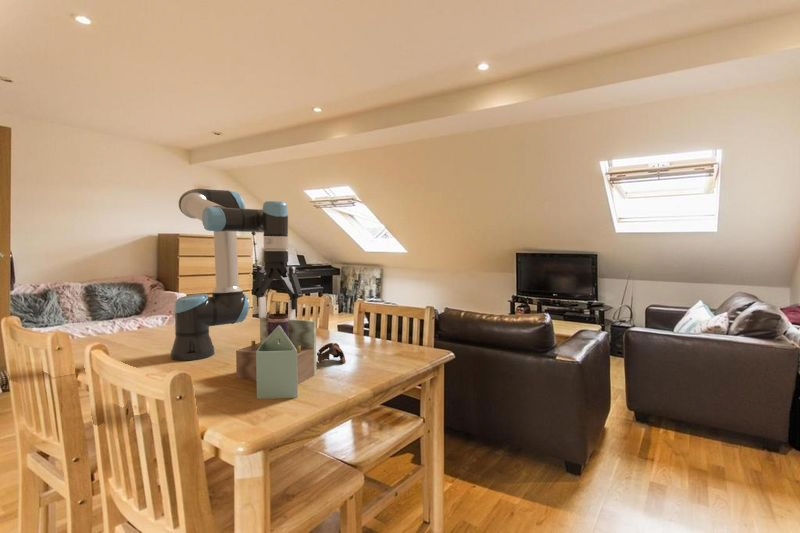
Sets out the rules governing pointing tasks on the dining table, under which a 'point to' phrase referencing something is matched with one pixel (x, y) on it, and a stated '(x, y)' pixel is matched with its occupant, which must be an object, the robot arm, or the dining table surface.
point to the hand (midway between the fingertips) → (277, 318)
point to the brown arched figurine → (331, 352)
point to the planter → (276, 367)
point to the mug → (276, 323)
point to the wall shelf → (301, 338)
